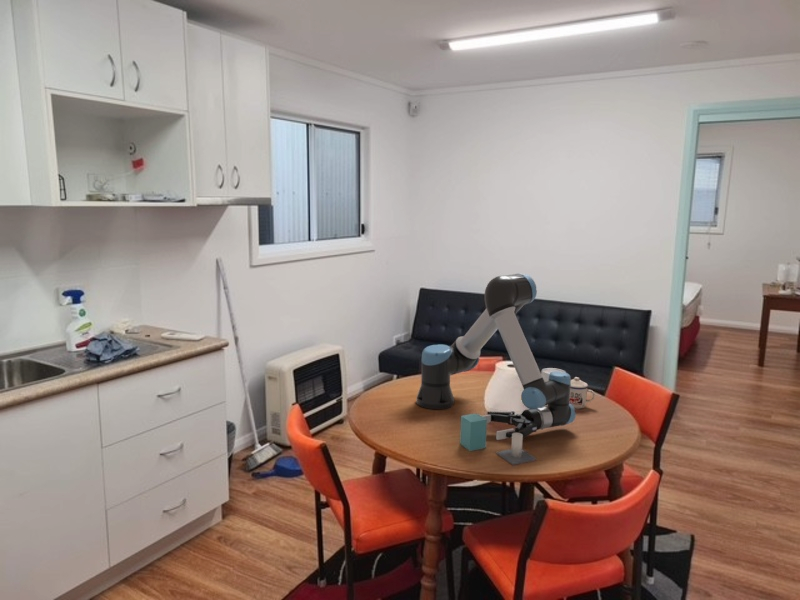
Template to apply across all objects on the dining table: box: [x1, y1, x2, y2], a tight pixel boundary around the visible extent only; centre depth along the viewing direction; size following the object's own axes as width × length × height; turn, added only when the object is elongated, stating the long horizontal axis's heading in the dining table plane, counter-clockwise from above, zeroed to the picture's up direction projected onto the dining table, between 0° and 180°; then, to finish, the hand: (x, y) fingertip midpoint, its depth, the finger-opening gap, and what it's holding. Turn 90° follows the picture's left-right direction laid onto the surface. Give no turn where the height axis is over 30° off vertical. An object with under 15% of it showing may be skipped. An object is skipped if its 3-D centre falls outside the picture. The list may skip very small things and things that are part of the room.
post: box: [496, 433, 537, 466], centre depth 183 cm, size 9×9×8 cm
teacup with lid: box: [569, 376, 596, 409], centre depth 230 cm, size 12×9×12 cm
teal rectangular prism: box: [459, 413, 488, 452], centre depth 190 cm, size 6×6×10 cm
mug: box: [540, 367, 567, 382], centre depth 244 cm, size 14×10×11 cm
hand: (485, 428), depth 191 cm, fingers open, 13 cm apart
